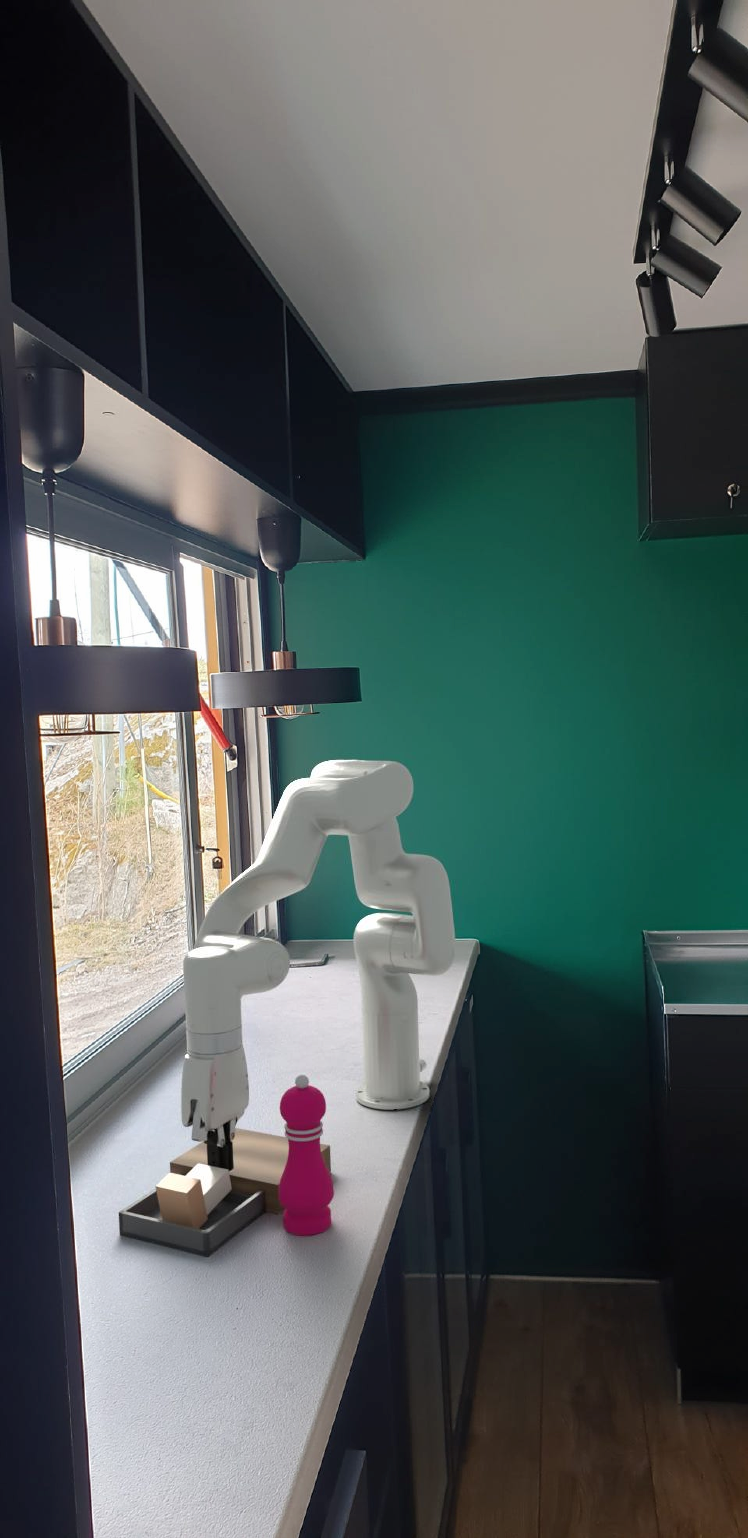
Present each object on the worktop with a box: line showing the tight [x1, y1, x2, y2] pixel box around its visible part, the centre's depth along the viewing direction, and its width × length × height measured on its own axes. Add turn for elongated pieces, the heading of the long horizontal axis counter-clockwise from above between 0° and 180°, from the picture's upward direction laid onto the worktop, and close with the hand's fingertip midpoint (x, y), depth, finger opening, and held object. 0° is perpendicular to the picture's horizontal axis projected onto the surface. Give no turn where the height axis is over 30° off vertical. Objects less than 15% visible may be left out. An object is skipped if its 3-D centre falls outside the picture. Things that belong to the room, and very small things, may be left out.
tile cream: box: [186, 1163, 232, 1215], centre depth 149 cm, size 6×5×3 cm
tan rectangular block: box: [154, 1172, 208, 1229], centre depth 145 cm, size 6×5×3 cm
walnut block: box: [169, 1127, 332, 1215], centre depth 159 cm, size 14×18×4 cm
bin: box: [118, 1172, 266, 1258], centre depth 147 cm, size 13×14×3 cm
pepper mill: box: [279, 1074, 335, 1237], centre depth 145 cm, size 7×7×20 cm
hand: (220, 1169), depth 152 cm, fingers closed
